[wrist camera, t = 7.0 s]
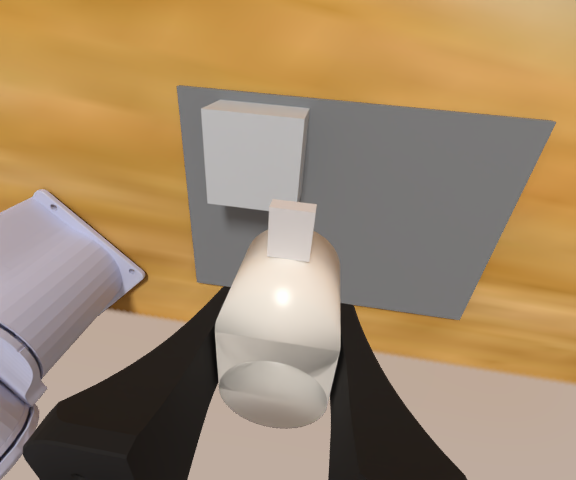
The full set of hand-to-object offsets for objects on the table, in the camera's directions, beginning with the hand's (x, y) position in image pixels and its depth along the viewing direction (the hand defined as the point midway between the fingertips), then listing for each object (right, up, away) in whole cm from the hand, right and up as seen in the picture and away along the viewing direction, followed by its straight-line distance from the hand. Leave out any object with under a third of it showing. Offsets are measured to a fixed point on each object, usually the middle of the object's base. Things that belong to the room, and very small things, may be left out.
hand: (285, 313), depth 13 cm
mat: (+3, +5, +8) cm, 10 cm away
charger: (-1, +8, +6) cm, 10 cm away
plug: (0, +1, +1) cm, 1 cm away
